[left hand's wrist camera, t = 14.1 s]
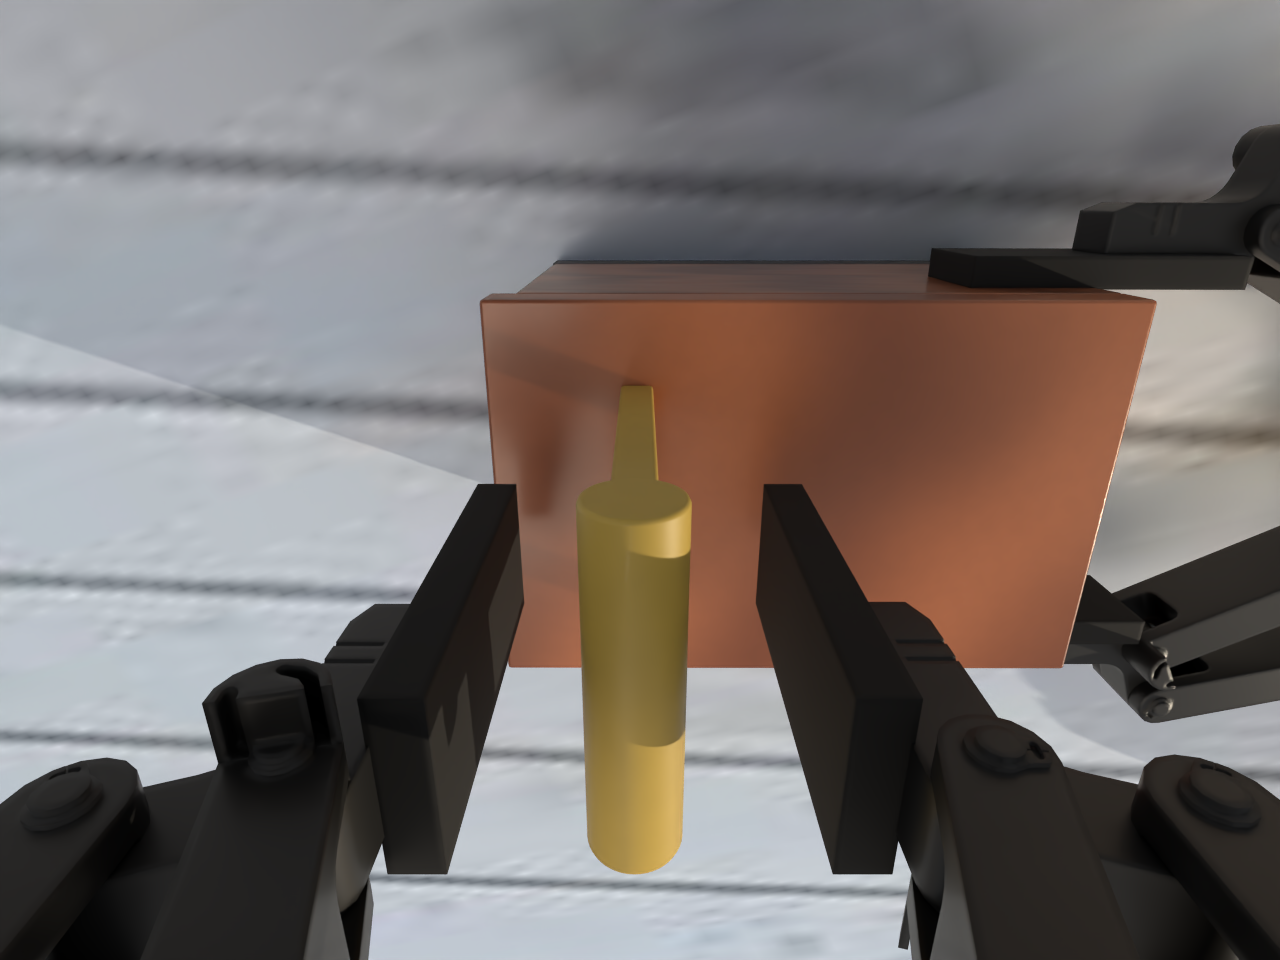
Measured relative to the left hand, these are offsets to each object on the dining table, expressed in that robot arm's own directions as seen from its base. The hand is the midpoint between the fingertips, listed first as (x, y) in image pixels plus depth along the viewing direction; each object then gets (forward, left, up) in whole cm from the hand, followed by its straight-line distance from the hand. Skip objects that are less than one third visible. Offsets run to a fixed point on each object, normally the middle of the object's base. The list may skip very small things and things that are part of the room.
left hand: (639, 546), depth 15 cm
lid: (-1, +4, -3) cm, 5 cm away
